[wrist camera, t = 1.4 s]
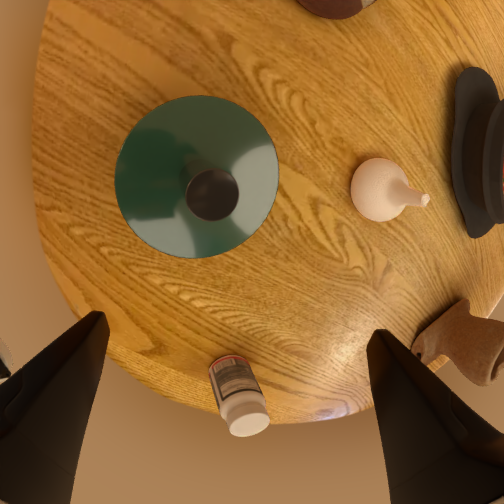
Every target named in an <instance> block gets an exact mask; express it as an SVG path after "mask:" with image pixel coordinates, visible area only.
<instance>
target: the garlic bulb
mask: <svg viewBox="0 0 504 504" xmlns="http://www.w3.org/2000/svg"><path fill="white" fill-rule="evenodd" d="M351 197H352V201H353V204H354V205H355V207H356V209H357V210H358V211H359V213H360V214H362V215H363V216H364V217H366V218H367V219H370V220H372V221H378V222H383V221H388V220H391V219H393V218H395V217H396V216H398V215H399V214H400V213H401V212H402V211H403V209H404V208H405V206H406V205H409V206H423V207H427V206H426V205H427V204H428V202H429V201H430V197H429V195H428V194H423V193H422V192H420V191H418V190H416V189H413V188H411V187H409V183H408V179H407V177H406V175H405V173H404V171H403V170H402V169H401V168H400V167H399V166H398V165H397V164H396V163H394V162H393V161H391V160H388V159H384V158H373V159H369V160H367V161H365V162H363V163H362V164H361V165H360V166H359V167H358V168H357V170H356V171H355V173H354V175H353V178H352V182H351Z"/></svg>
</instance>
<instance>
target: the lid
mask: <svg viewBox="0 0 504 504" xmlns="http://www.w3.org/2000/svg"><path fill="white" fill-rule="evenodd" d="M278 183H279V164H278V158H277V154H276V150H275V147H274V145H273V142H272V140H271V138H270V136H269V134H268V132H267V131H266V129H265V128H264V127H263V125H262V124H261V123H260V122H259V121H258V120H257V119H256V118H255V117H254V116H253V115H252V114H251V113H250V112H248V111H247V110H246V109H244V108H243V107H241V106H239V105H237V104H236V103H233V102H231V101H228V100H226V99H222V98H218V97H214V96H204V95H198V96H187V97H182V98H177V99H174V100H171V101H168V102H166V103H164V104H162V105H160V106H158V107H156V108H155V109H153V110H152V111H150V112H149V113H148V114H146V115H145V116H144V117H143V118H142V119H141V120H140V121H139V122H138V123H137V124H136V125H135V126H134V127H133V129H132V130H131V131H130V133H129V134H128V136H127V137H126V139H125V141H124V143H123V145H122V147H121V149H120V152H119V155H118V158H117V162H116V168H115V181H114V184H115V193H116V198H117V202H118V206H119V208H120V210H121V213H122V215H123V217H124V219H125V220H126V222H127V224H128V225H129V227H130V228H131V229H132V230H133V232H134V233H135V234H136V235H137V236H138V237H139V238H140V239H141V240H143V241H144V242H145V243H147V244H148V245H149V246H151V247H153V248H155V249H156V250H158V251H160V252H163V253H166V254H168V255H172V256H176V257H181V258H205V257H211V256H215V255H219V254H222V253H224V252H227V251H229V250H231V249H233V248H235V247H237V246H238V245H240V244H241V243H243V242H244V241H246V240H247V239H248V238H249V237H250V236H251V235H253V234H254V233H255V232H256V230H257V229H258V228H259V227H260V226H261V225H262V223H263V222H264V220H265V219H266V218H267V216H268V214H269V212H270V210H271V208H272V206H273V203H274V201H275V198H276V194H277V190H278Z"/></svg>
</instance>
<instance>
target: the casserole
mask: <svg viewBox="0 0 504 504" xmlns="http://www.w3.org/2000/svg"><path fill="white" fill-rule="evenodd" d="M451 172H452V181H453V188H454V192H455V196H456V199H457V202H458V204H459V206H460V208H461V211H462V213H463V215H464V218H465V223H466V227H467V232H468V235H469V236H470V237H471V238H475V239H476V238H479V237H482V236H483V235H485V234H486V233H487V232H488V231H489V230H490V229H491V228H492V227H493V226H494V225H495V223H497V224H502V223H504V99H502V100H501V101H500V99H499V95H498V92H497V89H496V86H495V83H494V81H493V79H492V78H491V76H490V75H489V74H488V73H487V72H486V71H485V70H483V69H481V68H479V67H469V68H466V69H465V70H464V71H463V72H461V74H460V75H459V77H458V78H457V82H456V86H455V124H454V131H453V139H452V149H451Z"/></svg>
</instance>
